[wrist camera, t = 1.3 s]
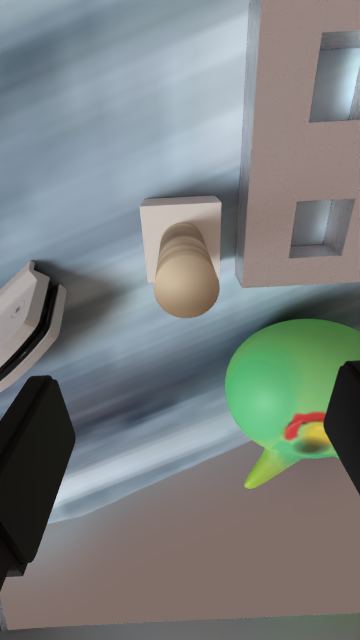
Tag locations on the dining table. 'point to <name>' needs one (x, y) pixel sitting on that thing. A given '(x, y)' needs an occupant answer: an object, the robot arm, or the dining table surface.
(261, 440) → the toy bird
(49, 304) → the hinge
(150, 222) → the beige square block
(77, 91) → the dining table surface
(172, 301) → the peg
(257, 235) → the plate
